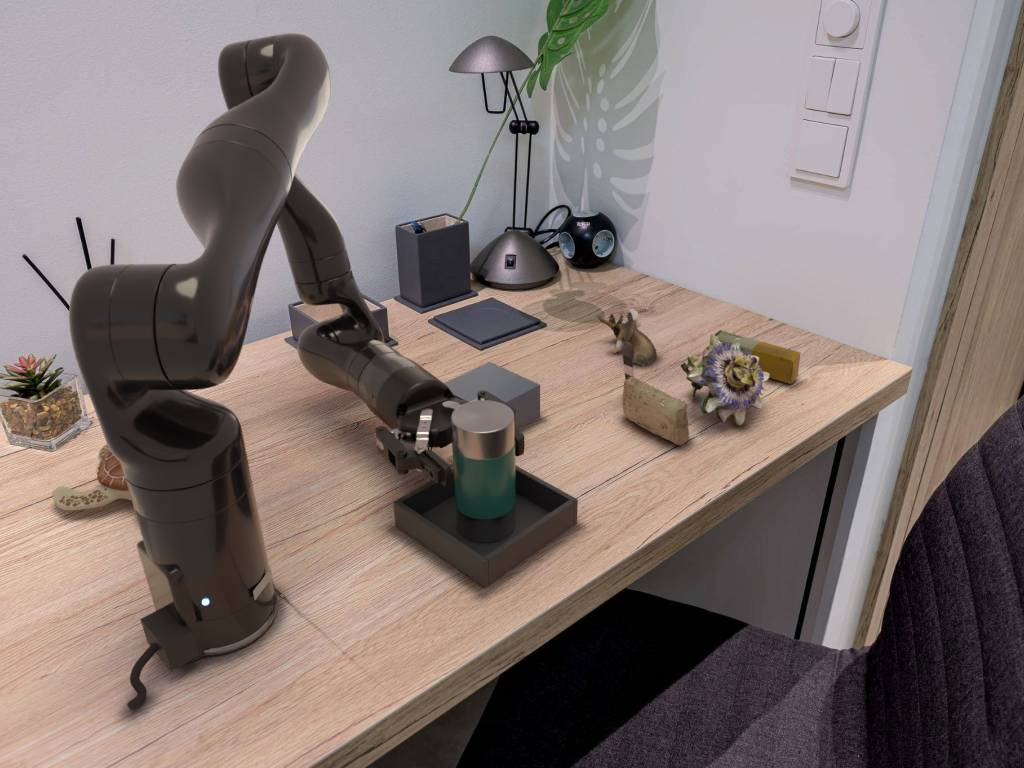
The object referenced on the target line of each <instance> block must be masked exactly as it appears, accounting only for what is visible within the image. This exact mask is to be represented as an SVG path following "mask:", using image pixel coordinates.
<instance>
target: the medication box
mask: <svg viewBox="0 0 1024 768" xmlns="http://www.w3.org/2000/svg"><path fill="white" fill-rule="evenodd" d="M713 335H714V336H717V337H718V340H719V341H720V342H721V343H722V345H726V343H728V344H729V345H730V343H731V342H732V341H734V340H735V339H737V338H738V339H740V347H739V348H740V349H741V351H742V350H743V349H745V352H744V355H746V354H748V355H751V356H757V357H759V362H758V364H757V365H759V366H760V369H762V371H763V372H767V373H769V375H770V376H769V379H773V380H776V381H779V382H783V383H785V384H789V385H792V384H793V383H794V382H795V381H796V379H798V377H799V369H800V361H801V360H800V359H801V352H800V351H797V350H793V349H790V348H786V347H783V346H780V345H776V344H771V343H769V342H765V341H760V340H757V339H754V338H750V337H746V336H743V335H739V334H736V333H732V332H728V331H725V330H723V329H720V330H718V331H716V332H715V333H714V334H713Z"/></svg>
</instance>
